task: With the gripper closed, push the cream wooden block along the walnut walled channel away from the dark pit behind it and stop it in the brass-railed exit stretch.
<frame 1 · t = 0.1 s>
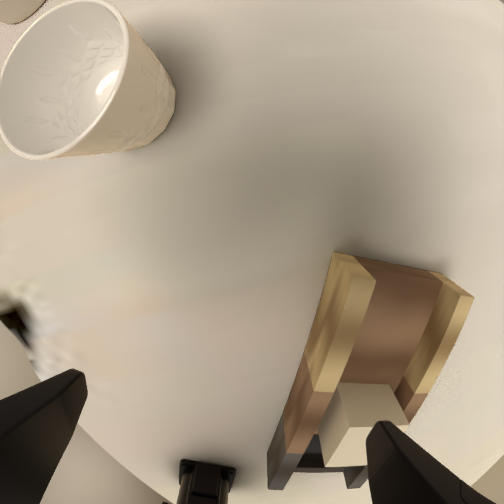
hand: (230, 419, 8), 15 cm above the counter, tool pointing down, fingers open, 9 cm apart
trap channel: (348, 383, 25), on the counter
white cup: (133, 105, 19), on the counter
cream block: (352, 405, 23), point 2 cm above the counter, touching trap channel
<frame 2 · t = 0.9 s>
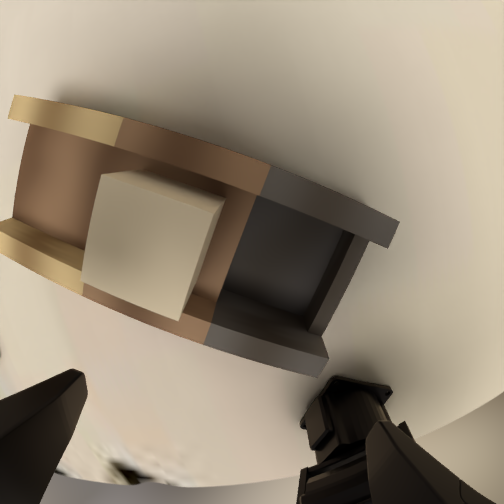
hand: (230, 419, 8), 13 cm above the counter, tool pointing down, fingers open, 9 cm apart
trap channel: (172, 214, 19), on the counter
cream block: (169, 225, 17), point 2 cm above the counter, touching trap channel
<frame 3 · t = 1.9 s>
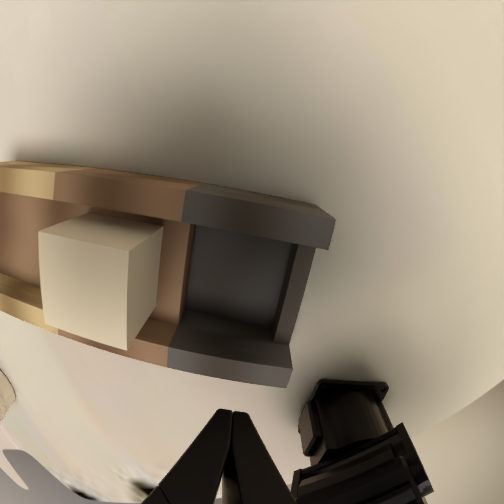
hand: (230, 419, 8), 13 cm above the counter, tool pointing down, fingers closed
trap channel: (128, 247, 20), on the counter
cream block: (120, 259, 17), point 2 cm above the counter, touching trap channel
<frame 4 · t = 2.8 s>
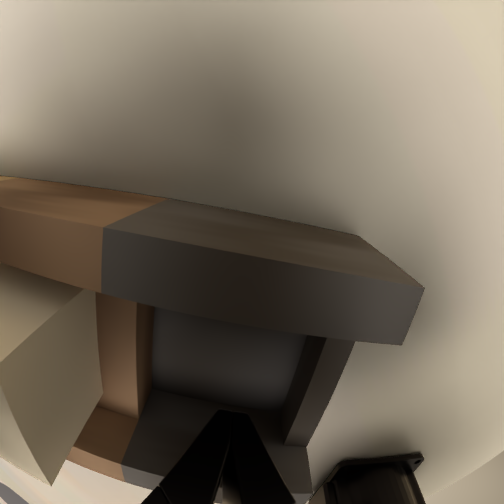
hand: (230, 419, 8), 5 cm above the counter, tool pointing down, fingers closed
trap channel: (65, 296, 12), on the counter
cream block: (44, 325, 9), point 2 cm above the counter, touching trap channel
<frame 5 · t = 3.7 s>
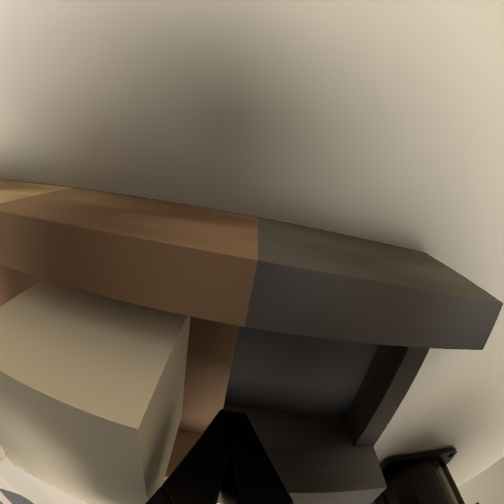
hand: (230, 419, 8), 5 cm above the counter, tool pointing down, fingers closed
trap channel: (129, 316, 12), on the counter
cream block: (117, 351, 10), point 3 cm above the counter, touching gripper, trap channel
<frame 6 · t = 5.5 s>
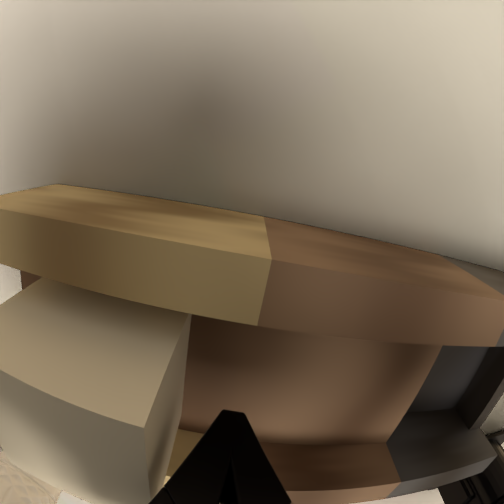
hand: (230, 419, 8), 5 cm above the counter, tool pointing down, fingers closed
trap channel: (309, 348, 12), on the counter
white cup: (34, 465, 17), on the counter
cream block: (117, 349, 10), point 2 cm above the counter, touching gripper, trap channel
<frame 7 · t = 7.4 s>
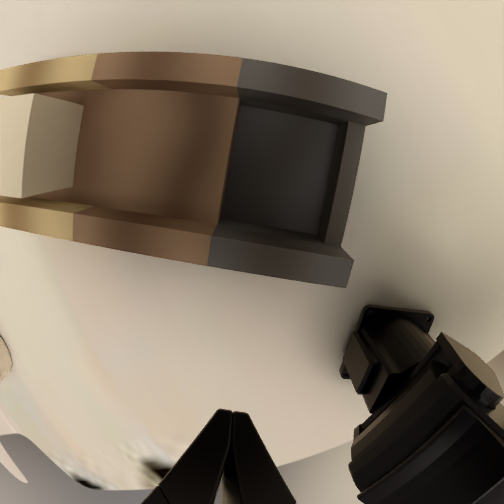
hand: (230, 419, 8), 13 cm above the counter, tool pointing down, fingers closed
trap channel: (160, 151, 18), on the counter
cream block: (47, 144, 15), point 2 cm above the counter, touching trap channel
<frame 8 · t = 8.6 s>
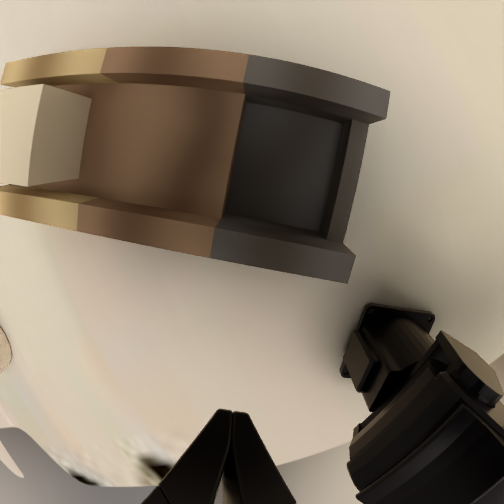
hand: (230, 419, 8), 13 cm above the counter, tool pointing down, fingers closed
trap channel: (166, 146, 18), on the counter
cream block: (54, 136, 15), point 2 cm above the counter, touching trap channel
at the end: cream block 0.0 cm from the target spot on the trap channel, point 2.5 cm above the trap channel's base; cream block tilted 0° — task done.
